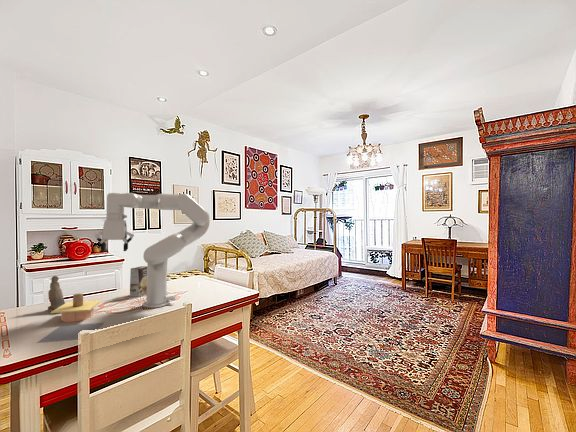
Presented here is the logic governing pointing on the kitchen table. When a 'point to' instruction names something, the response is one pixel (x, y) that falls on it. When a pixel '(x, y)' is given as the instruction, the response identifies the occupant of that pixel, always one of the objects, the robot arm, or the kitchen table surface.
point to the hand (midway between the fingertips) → (114, 251)
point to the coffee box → (138, 281)
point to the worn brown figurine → (55, 295)
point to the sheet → (76, 309)
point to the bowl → (76, 316)
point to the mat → (69, 332)
